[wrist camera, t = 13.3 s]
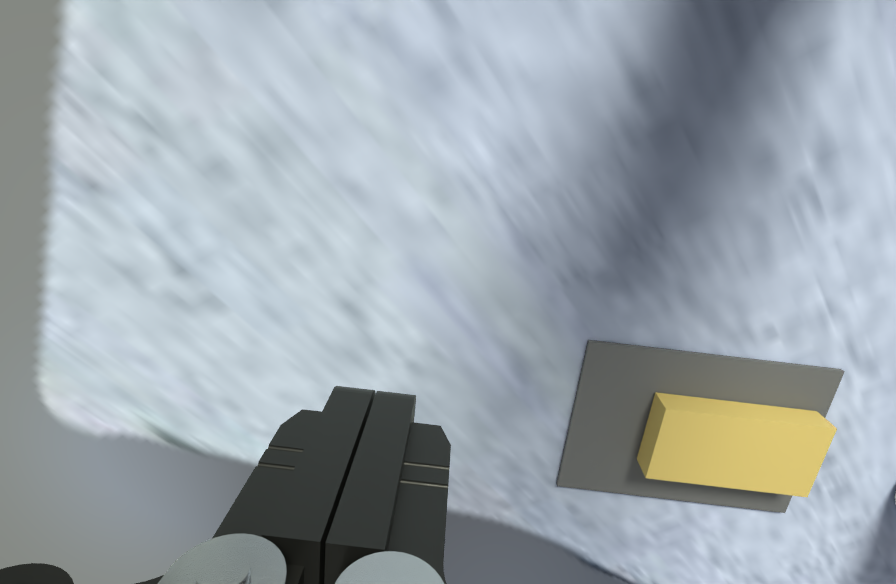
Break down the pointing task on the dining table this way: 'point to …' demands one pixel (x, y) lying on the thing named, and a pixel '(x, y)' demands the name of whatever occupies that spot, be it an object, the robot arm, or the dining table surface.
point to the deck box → (734, 444)
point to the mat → (680, 373)
